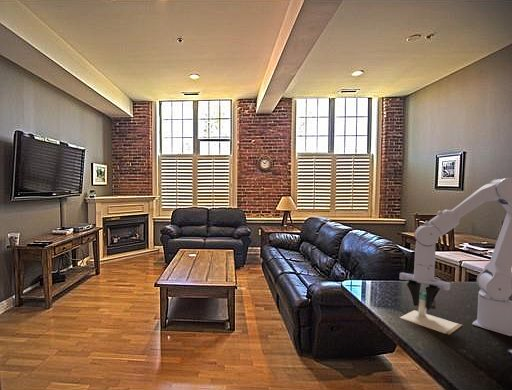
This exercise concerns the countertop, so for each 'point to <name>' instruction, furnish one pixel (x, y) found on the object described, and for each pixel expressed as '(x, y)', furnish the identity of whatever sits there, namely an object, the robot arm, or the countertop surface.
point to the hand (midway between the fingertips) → (422, 306)
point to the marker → (422, 304)
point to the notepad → (432, 322)
